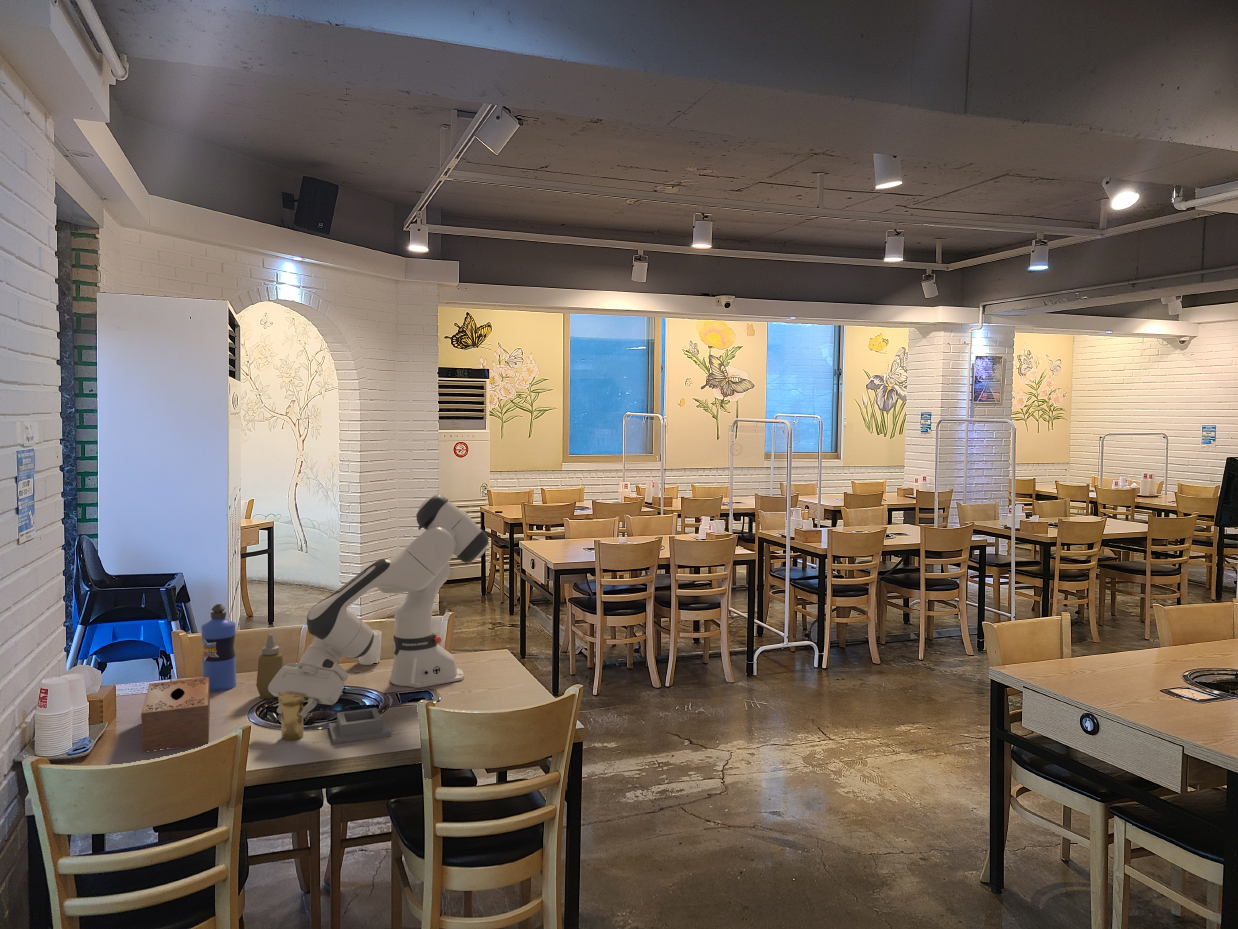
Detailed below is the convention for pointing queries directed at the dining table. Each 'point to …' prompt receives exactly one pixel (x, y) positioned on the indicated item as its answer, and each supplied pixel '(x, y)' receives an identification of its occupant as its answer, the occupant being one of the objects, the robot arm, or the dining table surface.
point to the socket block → (358, 726)
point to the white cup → (372, 651)
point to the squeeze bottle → (268, 667)
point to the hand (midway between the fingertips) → (290, 714)
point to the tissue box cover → (176, 714)
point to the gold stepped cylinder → (291, 715)
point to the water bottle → (219, 651)
